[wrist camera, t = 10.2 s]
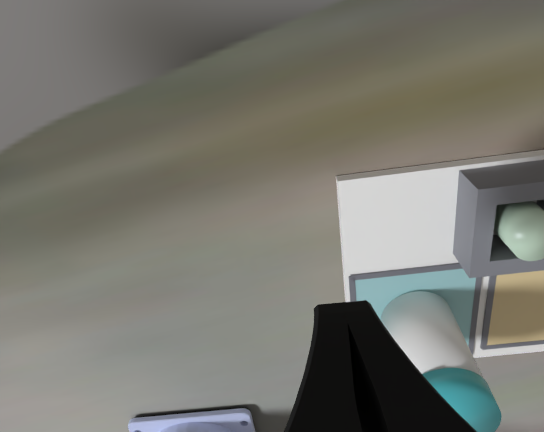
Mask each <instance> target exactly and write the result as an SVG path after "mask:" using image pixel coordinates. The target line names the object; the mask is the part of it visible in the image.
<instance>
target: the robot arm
mask: <svg viewBox="0 0 544 432" xmlns="http://www.w3.org/2000/svg"><path fill="white" fill-rule="evenodd" d="M128 429H129V431H130V432H256V431H255V427H254V423H253V419H252V415H251V412H250V411H249V410H248V409H245V408H239V409H228V410H217V411H206V412H194V413H183V414H172V415H161V416H150V417H138V418H132V419H131V420H130V421H129V424H128ZM284 432H477V431H476V430H475V429H474V428H473V427H472V426H471V425H470V424H469V423H468V422H467V421H466V420H465V419H464V418H463V417H461V416H460V415H459V414H458V413H457V412H456V411H455V410H454V408H453V407H452V406H451V405H450V404H449V403H448V402H447V401H446V400H445V399H444V398H443V397H442V396H441V395H440V394H439V393H438V392H437V390H436V389H435V388H434V387H433V386H432V385H431V384H430V383H429V382H428V380H427V379H426V378H425V377H424V376H423V375H422V374H421V372H420V371H419V370H418V369H417V368H416V366H415V365H414V364H413V363H412V361H411V360H410V359H409V358H408V356H407V355H406V354H405V353H404V352H403V350H402V349H401V348H400V346H399V345H398V344H397V342H396V341H395V340H394V339H393V337H392V336H391V334H390V333H389V332H388V330H387V329H386V327H385V326H384V324H383V323H382V321H381V320H380V318H379V317H378V315H377V314H376V312H375V310H374V309H373V307H372V305H371V304H370V303H369V302H368V301H366V300H364V301H353V302H342V303H332V304H321V305H317V306H316V307H315V308H314V328H313V335H312V341H311V347H310V351H309V355H308V359H307V364H306V368H305V372H304V375H303V379H302V382H301V385H300V388H299V391H298V394H297V398H296V401H295V404H294V407H293V409H292V412H291V415H290V418H289V420H288V423H287V426H286V428H285V430H284Z"/></svg>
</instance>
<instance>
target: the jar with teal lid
mask: <svg viewBox="0 0 544 432" xmlns="http://www.w3.org/2000/svg"><path fill="white" fill-rule="evenodd" d="M381 321H382V323H383V324H384V326H385V327H386V329H387V330H388V332H389V333H390V334H391V336H392V337H393V339H394V340H395V341H396V342H397V344H398V345H399V346H400V348H401V349H402V350H403V352H404V353H405V354H406V355H407V356H408V358H409V359H410V360H411V361H412V363H413V364H414V365H415V366H416V368H417V369H418V370H419V371H420V372H421V374H422V375H423V376H424V377H425V378H426V379H427V380H428V382H429V383H430V384H431V385H432V386H433V387H434V388H435V389H436V390H437V392H438V393H439V394H440V395H441V396H442V397H443V398H444V399H445V400H446V401H447V402H448V403H449V404H450V405H451V406H452V407H453V408H454V410H455V411H456V412H457V413H458V414H459V415H460V416H461V417H463V418H464V419H465V420H466V421H467V422H468V423H469V424H470V425H471V426H472V427H473V428H474V429H475V430H476V431H477V432H495V431H496V429H497V428H498V426H499V424H500V422H501V412H500V409H499V407H498V405H497V403H496V401H495V399H494V397H493V395H492V392H491V390H490V388H489V386H488V384H487V382H486V381H485V380H484V379H483V376H482V374H481V372H480V370H479V368H478V366H477V364H476V362H475V360H474V357H473V355H472V353H471V351H470V349H469V347H468V345H467V343H466V341H465V338H464V336H463V334H462V332H461V330H460V328H459V326H458V324H457V322H456V319H455V317H454V315H453V313H452V311H451V309H450V307H449V305H448V303H447V302H446V301H445V300H444V299H443V298H442V297H441V296H439V295H437V294H434V293H431V292H425V291H416V292H410V293H406V294H403V295H401V296H398V297H397V298H395V299H393V300H392V301H391V302H390V303H389V304H388V305H387V306H386V307H385V309H384V310H383V312H382V315H381Z"/></svg>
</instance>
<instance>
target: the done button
mask: <svg viewBox="0 0 544 432" xmlns="http://www.w3.org/2000/svg"><path fill="white" fill-rule="evenodd" d="M494 232H495V233H496V234H497V235H498V236H499V237H500V238H501V240H502V241H503V242H504V243H505V244H506V245H507V246H508V247H509V249H510V250H511V251H512V252H513V253H514V254H515V255H516V256H517V257H518V258H519V259H522V260H525V261H537V260H541V259H544V210H543V209H542V208H541V207H539V206H538V205H537V204H536V203H535V202H534V201H526V202H518V203H509V204H501V205H497V207H496V215H495V223H494Z"/></svg>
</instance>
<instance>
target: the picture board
mask: <svg viewBox="0 0 544 432" xmlns="http://www.w3.org/2000/svg"><path fill="white" fill-rule="evenodd" d="M336 184H337V197H338V211H339V224H340V238H341V251H342V264H343V278H344V291H345V302H353V301H364V300H366V301H368V302H369V303H370V304H371V305H372V307H373V309H374V310H375V312H376V314H377V315H378V317H379V318H380V320H381V315H382V312H383V310H384V309H385V307H386V306H387V305H388V304H389V303H390V302H391V301H392V300H393V299H395V298H397V297H398V296H401V295H403V294H406V293H410V292H416V291H425V292H431V293H434V294H437V295H439V296H441V297H442V298H443V299H444V300H445V301H446V302H447V303H448V305H449V307H450V309H451V311H452V313H453V315H454V317H455V319H456V322H457V324H458V326H459V328H460V330H461V332H462V334H463V336H464V338H465V341H466V343H467V345H468V347H469V349H470V351H471V353H472V355H473V357H474V358H477V357H488V356H498V355H509V354H520V353H530V352H541V351H544V259H541V260H537V261H525V260H522V259H519V258H518V257H517V256H516V255H515V254H514V253H513V252H512V251H511V250H510V249H509V247H508V246H507V245H506V244H505V243H504V242H503V241H502V240H501V238H500V237H499V236H498V235H497V234H496V233H495V232H494V223H495V215H496V207H497V205H501V204H509V203H518V202H526V201H534V202H535V203H536V204H537V205H538V206H539V207H541V208H542V209H543V210H544V150H537V151H529V152H521V153H513V154H505V155H497V156H489V157H481V158H474V159H466V160H458V161H450V162H442V163H434V164H426V165H418V166H411V167H403V168H395V169H387V170H379V171H371V172H363V173H355V174H348V175H340V176H336Z"/></svg>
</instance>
